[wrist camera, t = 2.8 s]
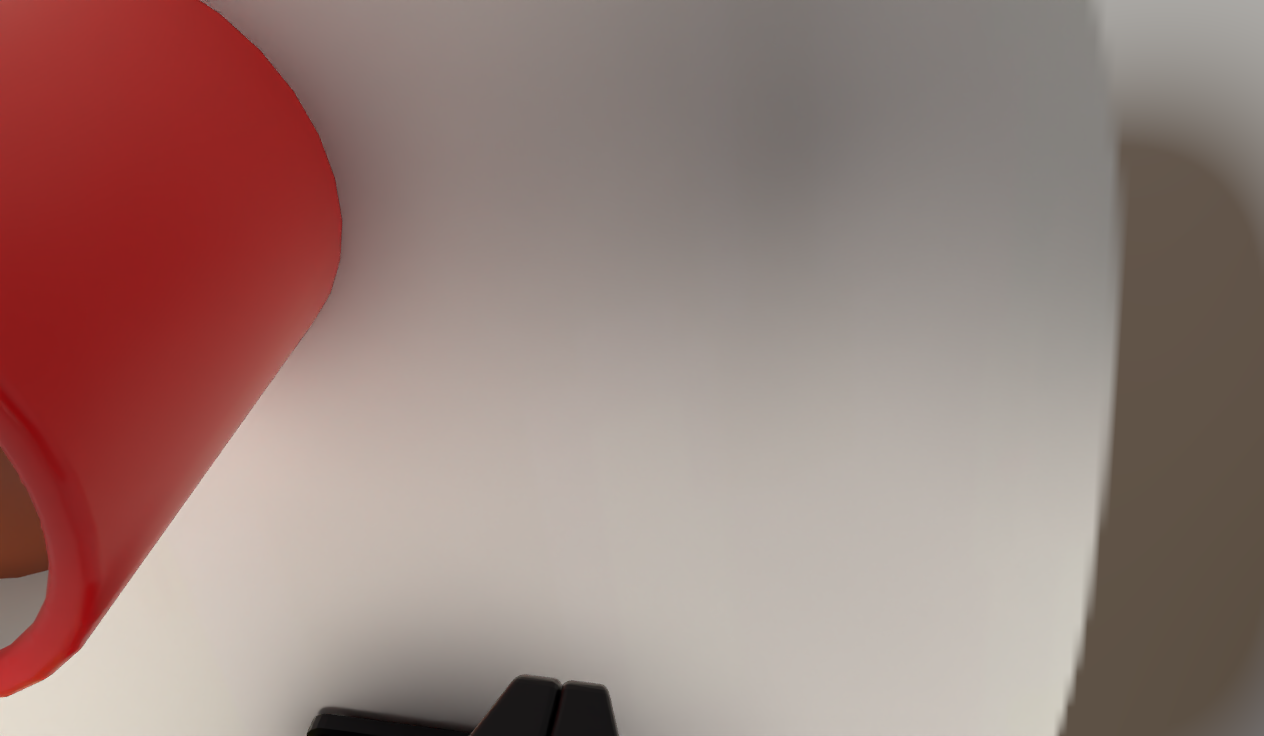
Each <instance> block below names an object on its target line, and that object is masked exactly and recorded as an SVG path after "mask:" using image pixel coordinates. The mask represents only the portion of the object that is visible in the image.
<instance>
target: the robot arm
mask: <svg viewBox="0 0 1264 736" xmlns="http://www.w3.org/2000/svg"><path fill="white" fill-rule="evenodd" d="M307 736H619V734H618V729H617V725H616V721H615V716H614V712H613V707H612V703H611V699H610V695H609V691H608V689H607V688H606V687H605V686H604V685H602V684H595V683H587V682H580V681H572V680H571V681H567V682H565V683H564V684H563V686H562V685H561V682H560V681H559V680H558V679H555V678H549V677H541V676H533V675H520V676H518V677H516V678H515V679H514V680H513V681H512V682H511V683H510V685H509V686H508V687H507V688H506V690H505V691H504V692H503V693H502V695H501V696H500V697H499V699H498V700H497V701H496V702H495V704H494V705H493V706H492V708H491V709H490V710H489V711H488V713H487V714H486V715H485V716H484V718H483V719H482V720H481V722H480V723H479V724H478V725H477V727H476V728H475V729H474V731H473V732H472V733H466V732H459V731H451V730H444V729H436V728H429V727H421V726H414V725H406V724H399V723H391V722H384V721H376V720H369V719H362V718H354V717H347V716H339V715H332V714H322V715H319V716H316V717H315V718H314V719H313V721H312V723H311V726H310V728H309V730H308V732H307Z"/></svg>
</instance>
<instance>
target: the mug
mask: <svg viewBox="0 0 1264 736" xmlns="http://www.w3.org/2000/svg"><path fill="white" fill-rule="evenodd" d="M341 231H342V218H341V212H340V206H339V200H338V194H337V188H336V182H335V178H334V175H333V172H332V169H331V167H330V164H329V161H328V159H327V156H326V153H325V151H324V148H323V145H322V142H321V140H320V137H319V135H318V133H317V131H316V129H315V128H314V126H313V124H312V123H311V121H310V119H309V117H308V116H307V114H306V112H305V110H304V109H303V107H302V105H301V104H300V102H299V100H298V98H297V97H296V95H295V93H294V91H293V90H292V89H291V88H290V87H289V85H288V84H287V83H286V82H285V80H284V79H283V78H282V77H281V76H280V74H279V73H278V72H277V71H276V69H275V68H274V67H273V66H272V64H271V63H270V62H269V61H268V60H267V58H266V57H265V56H264V55H263V53H262V52H261V51H260V50H259V49H258V48H257V47H256V46H255V45H254V44H252V43H251V42H250V41H249V40H248V39H247V38H246V37H245V36H244V35H242V34H241V33H240V32H239V31H238V30H237V29H236V28H235V27H234V26H232V25H231V24H230V23H229V22H228V21H227V20H226V19H225V18H224V17H222V16H221V15H220V14H219V13H218V12H216V11H215V10H213V9H212V8H210V7H209V6H207V5H206V4H204V3H202V2H201V1H199V0H0V697H7V696H9V695H12V694H14V693H16V692H18V691H21V690H23V689H25V688H27V687H29V686H31V685H33V684H36V683H38V682H40V681H42V680H44V679H45V678H47V677H49V676H50V675H52V674H53V673H54V672H55V671H56V670H58V669H59V668H60V667H61V666H62V665H63V664H64V663H65V662H67V661H68V660H69V659H70V658H71V657H72V656H73V655H74V654H76V653H77V652H78V651H79V650H80V649H81V648H82V647H83V645H84V644H85V642H86V641H87V640H88V638H89V637H90V635H91V634H92V633H93V631H94V630H95V628H96V627H97V625H98V624H99V623H100V621H101V620H102V618H103V617H104V616H105V614H106V613H107V611H108V610H109V609H110V607H111V606H112V604H113V603H114V602H115V600H116V599H117V597H118V596H119V595H120V593H121V592H122V590H123V589H124V588H125V586H126V585H127V583H128V582H129V581H130V579H131V578H132V576H133V575H134V573H135V572H136V571H137V569H138V568H139V566H140V565H141V564H142V562H143V561H144V559H145V558H146V557H147V555H148V554H149V552H150V551H151V550H152V548H153V547H154V545H155V544H156V543H157V541H158V540H159V538H160V537H161V536H162V534H163V533H164V531H165V530H166V529H167V527H168V526H169V524H170V523H171V521H172V520H173V519H174V517H175V516H176V514H177V513H178V512H179V510H180V509H181V507H182V506H183V505H184V503H185V502H186V500H187V499H188V498H189V496H190V495H191V493H192V492H193V491H194V489H195V488H196V486H197V485H198V484H199V482H200V481H201V479H202V478H203V477H204V475H205V474H206V472H207V471H208V469H209V468H210V467H211V465H212V464H213V462H214V461H215V460H216V458H217V457H218V455H219V454H220V453H221V451H222V450H223V448H224V447H225V446H226V444H227V443H228V441H229V440H230V439H231V437H232V436H233V434H234V433H235V432H236V430H237V429H238V427H239V426H240V425H241V423H242V422H243V420H244V419H245V417H246V416H247V415H248V413H249V412H250V410H251V409H252V408H253V406H254V405H255V403H256V402H257V401H258V399H259V398H260V396H261V395H262V394H263V392H264V391H265V389H266V388H267V387H268V385H269V384H270V382H271V381H272V380H273V378H274V377H275V375H276V374H277V373H278V371H279V370H280V368H281V367H282V365H283V364H284V363H285V361H286V360H287V358H288V357H289V356H290V354H291V353H292V351H293V350H294V349H295V347H296V346H297V344H298V343H299V342H300V340H301V339H302V337H303V336H304V335H305V333H306V332H307V330H308V329H309V328H310V326H311V325H312V323H313V322H314V320H315V319H316V317H317V315H318V313H319V312H320V310H321V308H322V307H323V305H324V303H325V302H326V300H327V298H328V297H329V295H330V293H331V290H332V286H333V283H334V279H335V276H336V272H337V269H338V265H339V262H340V253H341Z"/></svg>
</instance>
